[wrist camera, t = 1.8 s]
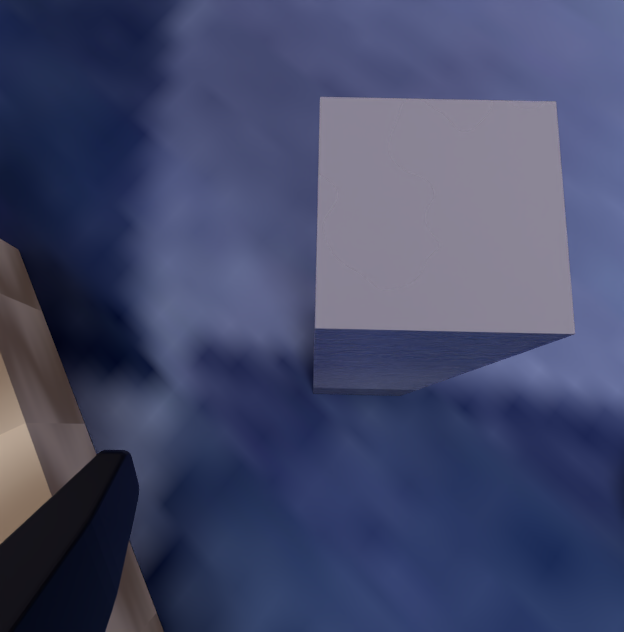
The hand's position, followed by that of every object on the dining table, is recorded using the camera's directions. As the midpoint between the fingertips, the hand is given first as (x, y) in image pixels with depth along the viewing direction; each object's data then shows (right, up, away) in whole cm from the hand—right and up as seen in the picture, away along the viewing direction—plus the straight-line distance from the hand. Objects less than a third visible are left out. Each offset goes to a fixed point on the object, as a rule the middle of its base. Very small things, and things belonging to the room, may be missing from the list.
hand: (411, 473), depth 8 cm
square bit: (0, +1, +11) cm, 11 cm away
